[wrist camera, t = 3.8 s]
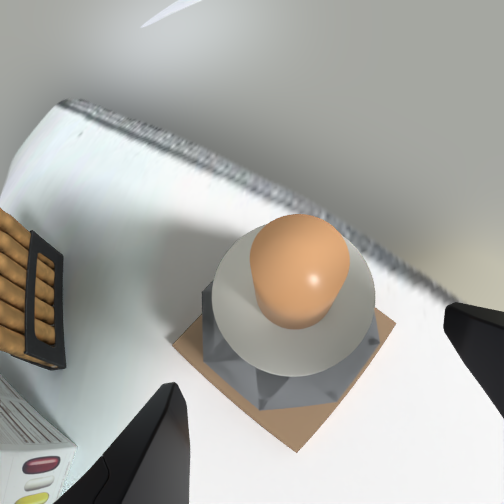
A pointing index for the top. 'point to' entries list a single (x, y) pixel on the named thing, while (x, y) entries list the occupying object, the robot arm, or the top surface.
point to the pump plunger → (293, 296)
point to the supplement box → (30, 452)
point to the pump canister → (277, 378)
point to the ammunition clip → (30, 296)
